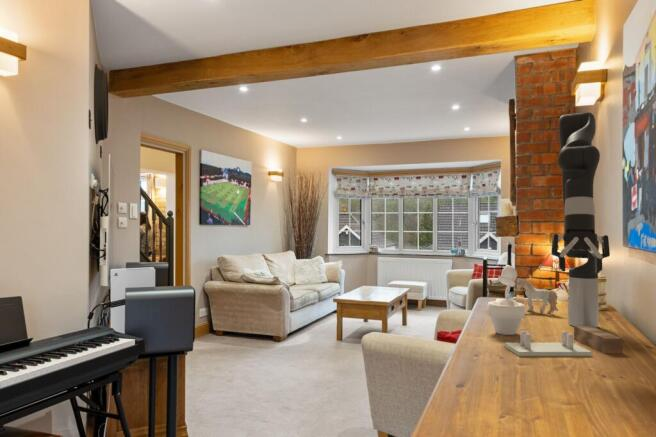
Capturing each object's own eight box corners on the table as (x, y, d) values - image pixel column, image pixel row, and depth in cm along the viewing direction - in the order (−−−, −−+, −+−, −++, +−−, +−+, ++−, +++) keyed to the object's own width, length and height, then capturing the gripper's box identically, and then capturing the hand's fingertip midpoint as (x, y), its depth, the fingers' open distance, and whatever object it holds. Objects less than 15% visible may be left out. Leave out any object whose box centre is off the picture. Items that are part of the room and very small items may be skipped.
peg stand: (504, 346, 137) (504, 328, 137) (571, 346, 137) (571, 329, 137) (519, 356, 127) (519, 337, 127) (591, 356, 127) (591, 337, 127)
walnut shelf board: (573, 340, 146) (573, 325, 146) (590, 340, 146) (590, 326, 146) (604, 354, 130) (604, 338, 130) (622, 354, 130) (622, 338, 130)
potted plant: (496, 327, 163) (496, 256, 163) (530, 333, 154) (530, 257, 155) (479, 333, 154) (479, 257, 154) (514, 339, 145) (514, 259, 146)
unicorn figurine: (513, 308, 202) (513, 277, 202) (562, 313, 190) (562, 280, 190) (507, 310, 196) (507, 278, 197) (558, 316, 184) (557, 282, 185)
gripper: (604, 217, 134) (605, 274, 131) (549, 216, 138) (549, 271, 136) (611, 212, 127) (613, 272, 124) (554, 212, 131) (554, 270, 128)
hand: (580, 272), depth 130 cm, fingers open, 8 cm apart
